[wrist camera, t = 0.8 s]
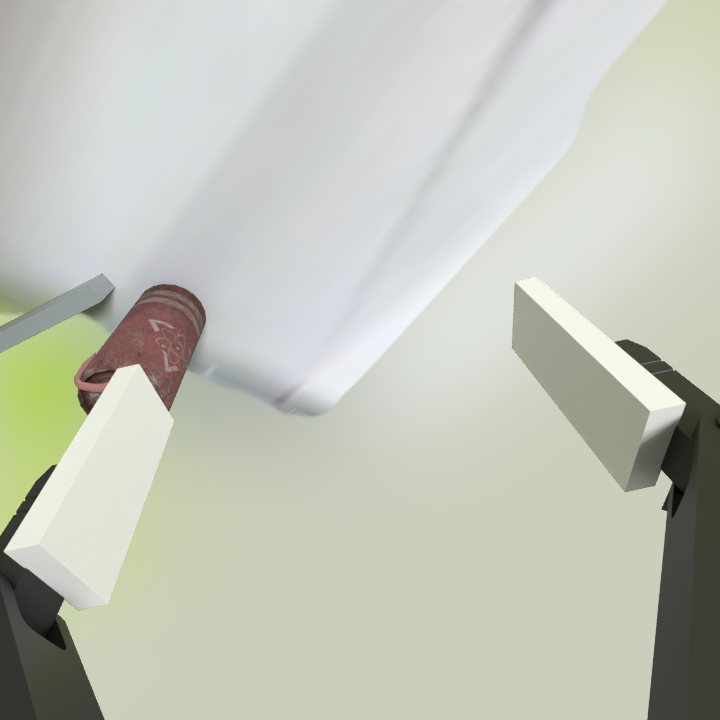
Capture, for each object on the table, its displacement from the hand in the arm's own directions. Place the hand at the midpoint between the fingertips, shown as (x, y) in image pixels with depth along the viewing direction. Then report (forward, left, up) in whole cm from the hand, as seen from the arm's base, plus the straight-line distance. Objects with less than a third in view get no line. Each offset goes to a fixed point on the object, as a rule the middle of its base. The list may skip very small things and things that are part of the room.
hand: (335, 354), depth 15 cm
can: (+3, -17, -26) cm, 31 cm away
